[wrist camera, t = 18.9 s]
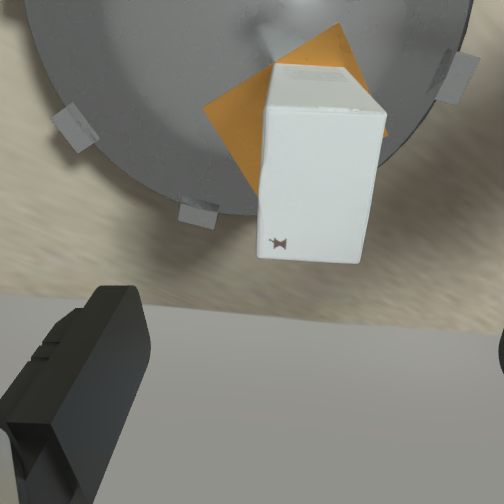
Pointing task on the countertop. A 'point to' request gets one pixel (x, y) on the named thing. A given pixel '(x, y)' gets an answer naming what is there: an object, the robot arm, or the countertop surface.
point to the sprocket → (231, 80)
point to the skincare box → (316, 165)
